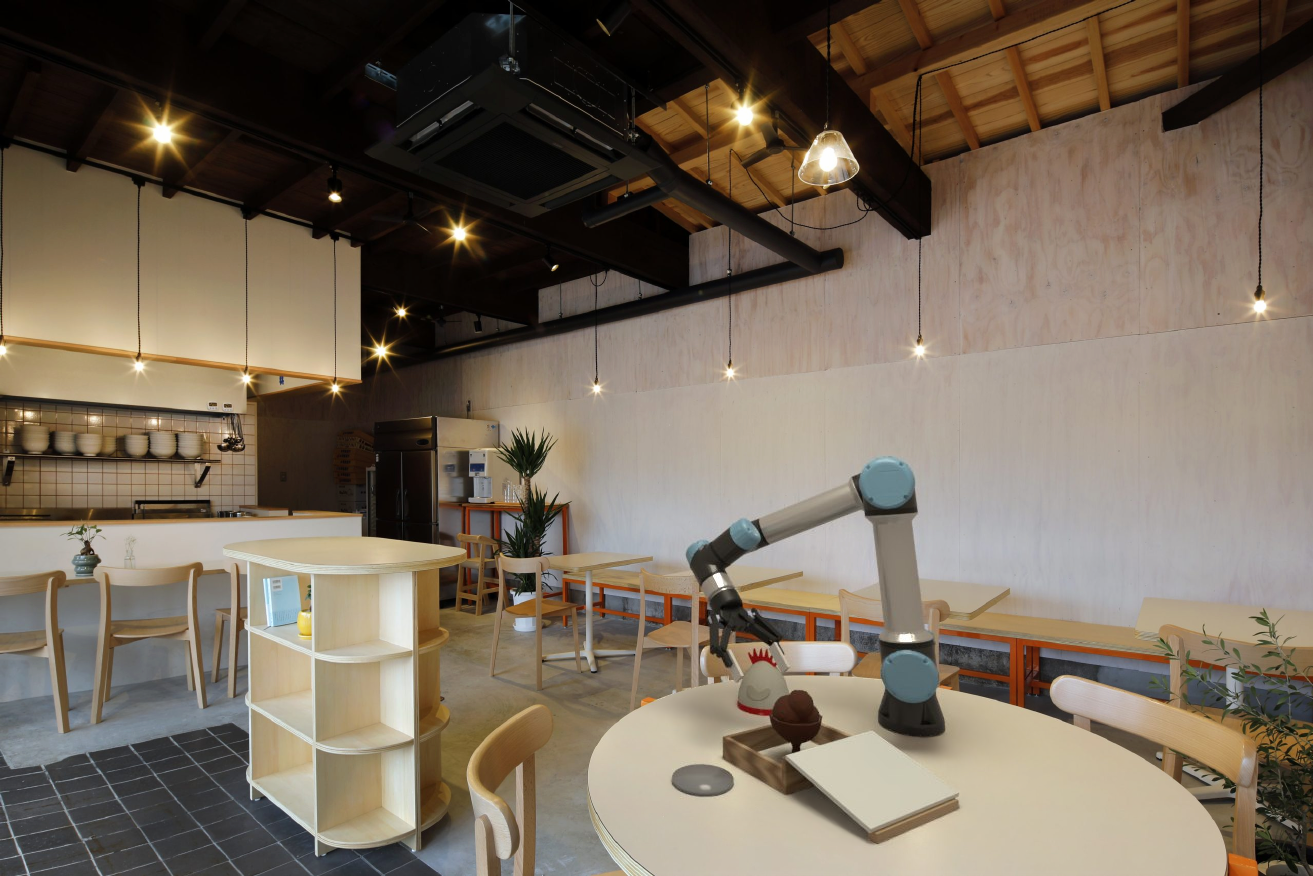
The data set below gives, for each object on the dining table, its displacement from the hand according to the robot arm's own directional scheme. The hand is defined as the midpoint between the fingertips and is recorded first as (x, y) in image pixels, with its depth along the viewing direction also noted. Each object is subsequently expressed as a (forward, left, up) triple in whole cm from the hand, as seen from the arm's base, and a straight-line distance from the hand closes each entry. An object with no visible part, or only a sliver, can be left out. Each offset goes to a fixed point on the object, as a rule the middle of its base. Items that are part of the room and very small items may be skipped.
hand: (763, 674), depth 144 cm
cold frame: (-9, +4, -16) cm, 18 cm away
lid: (-27, +11, -16) cm, 33 cm away
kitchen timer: (+11, -24, -16) cm, 31 cm away
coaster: (+3, +23, -16) cm, 28 cm away
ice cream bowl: (-9, +4, -16) cm, 19 cm away
